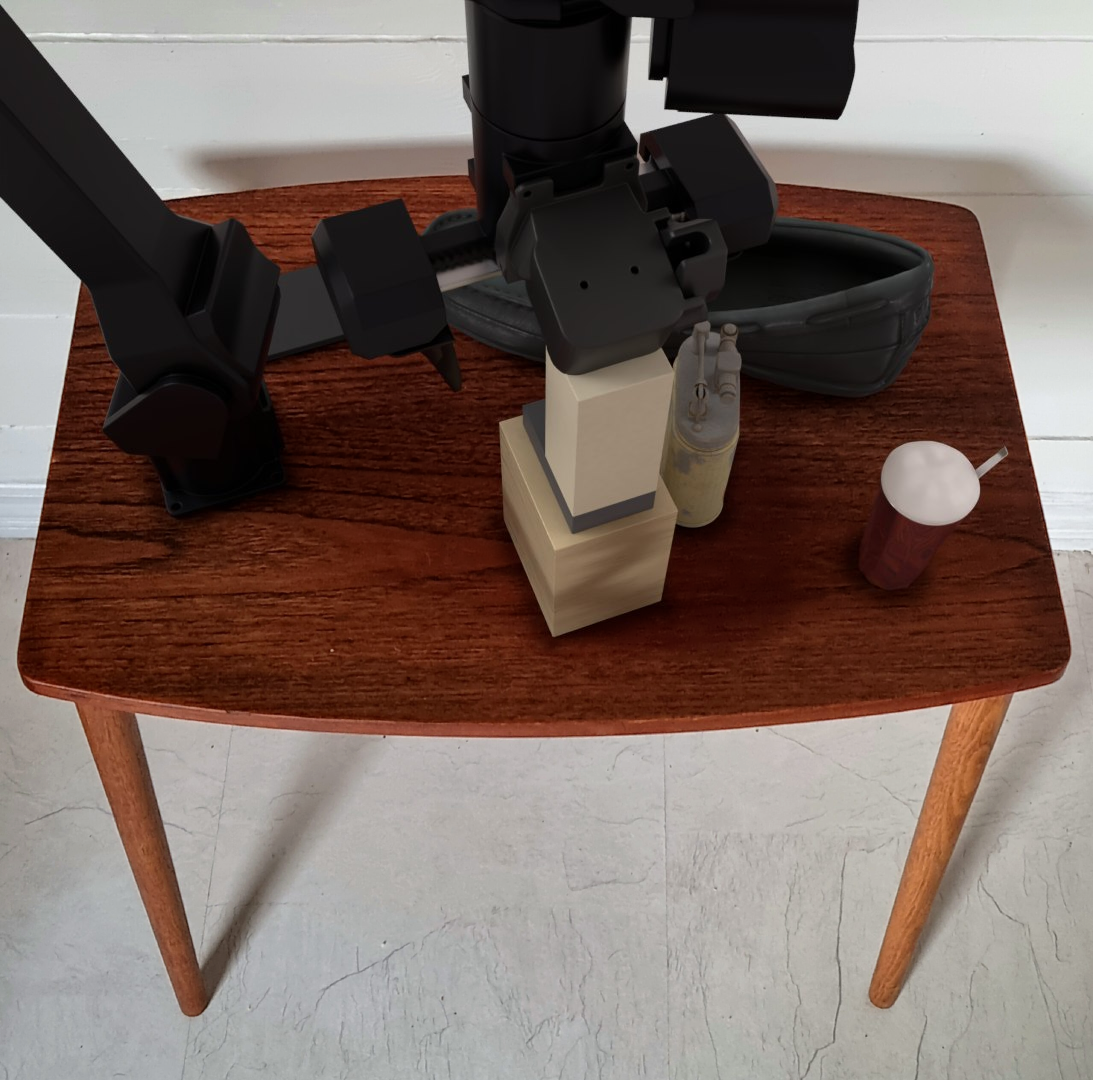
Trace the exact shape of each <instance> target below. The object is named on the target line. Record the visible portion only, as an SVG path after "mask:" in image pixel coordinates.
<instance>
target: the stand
mask: <svg viewBox="0 0 1093 1080" xmlns="http://www.w3.org/2000/svg"><path fill="white" fill-rule="evenodd" d="M498 424H499V442H500V443H499V444H500V445H499V446H500V464H501V467H500V468H501V485H502V487H501V489H502V506H503V521H504V522H505V526H506V528H507V530H508V533H509V535H510V537H511V540H512V542H513V545H514V547H515V550H516V552H517V555H518V556H519V559H520V562H521V564H522V566H523V570H524V571H525V574H526V576H527V578H528V581H529V583H530V585H531V588H532V590H533V593H534V594H535V598H536V600H537V602H538V605H539V607H540V610H541V612H542V614H543V616H544V619H545V621H546V624H547V627H548V629H549V631H550V633H551V636H552V637H553V638H555V637H559V636H561V635H564V634H567V633H570V632H573V631H576V630H580V629H582V628H584V627H587V626H590V625H593V624H597V623H599V622H602V621H605V620H607V619H608V620H609V619H611V618H614V617H617V616H620V615H623V614H626V613H629V612H632V611H634V610H638V609H641V608H644V607H646V606H647V607H648V606H650V605H653V604H655V603H659V602H661V601H662V597H663V592H664V588H665V587H664V586H665V582H666V575H667V570H668V564H669V560H670V555H671V549H672V544H673V540H674V539H673V538H674V533H675V529H676V525H677V524H676V518H677V513H678V510H677V508H676V506H675V504H674V502H673V500H672V498H671V496H670V494H669V492H668V490H667V488H666V486H665V484H664V482H663V480H662V478H661V476H660V474H659V475H658V482H657V488H656V494H655V500H654V507H653V508H652V509H649V510H646V511H643V512H639V513H636V514H633V515H630V516H627V517H624V518H621V519H618V520H615V521H612V522H608V523H605V524H602V525H599V526H596V527H593V528H590V529H587V530H584V531H581V532H577V533H574V534H572V533H571V531H570V529H569V526H568V524H567V522H566V520H565V518H564V515H563V513H562V511H561V509H560V506H559V504H558V502H557V500H556V497H555V495H554V493H553V491H552V488H551V486H550V484H549V482H548V479H547V477H546V475H545V473H544V470H543V468H542V466H541V464H540V461H539V459H538V457H537V455H536V453H535V450H534V448H533V446H532V444H531V441H530V439H529V437H528V435H527V432H526V430H525V428H524V426H523V414H522V415H519V416H515V417H512V418H508V419H504V420H501V421H499V422H498Z"/></svg>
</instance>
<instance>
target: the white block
mask: <svg viewBox="0 0 1093 1080" xmlns="http://www.w3.org/2000/svg"><path fill="white" fill-rule="evenodd" d="M673 379H674V371H673V366H672V365H671V363H670V361H669V359H668V358H667V357H666V356H665V354H664V352H663V350H662V348H660V349H659V350H657V351H656V352H654V353H651V354H648V355H645V356H642V357H638V358H634V359H631V360H627V361H624V362H621V363H618V364H614V365H611V366H608V367H604V368H601V369H598V370H596V371H592V372H589V373H586V374H582V375H568V374H563V373H562V372H560V371H559V370H558V369H557V368H556V367H555V366H554V365H553V363H552V361H551V359H550V357H549V354H548V351H547V347H546V363H545V398H543V399H539V400H536V401H533V402H529V403H526V404H523V405H522V415H523V426H524V428H525V430H526V432H527V435H528V437H529V439H530V441H531V444H532V446H533V448H534V450H535V453H536V455H537V457H538V459H539V461H540V464H541V466H542V468H543V470H544V473H545V475H546V477H547V479H548V482H549V484H550V486H551V488H552V491H553V493H554V495H555V497H556V500H557V502H558V504H559V506H560V509H561V511H562V513H563V515H564V518H565V520H566V522H567V524H568V526H569V529H570V531H571V533H572V534H574V533H577V532H581V531H584V530H587V529H590V528H593V527H596V526H599V525H602V524H605V523H608V522H612V521H615V520H618V519H621V518H624V517H627V516H630V515H633V514H636V513H639V512H643V511H646V510H649V509H652V508H653V507H654V500H655V494H656V488H657V482H658V475H659V469H660V462H661V456H662V450H663V443H664V437H665V430H666V424H667V418H668V411H669V405H670V398H671V392H672V386H673Z"/></svg>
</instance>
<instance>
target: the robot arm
mask: <svg viewBox="0 0 1093 1080" xmlns="http://www.w3.org/2000/svg"><path fill="white" fill-rule="evenodd" d="M463 1H464V12H465V13H464V17H465V31H466V33H465V34H466V48H467V50H466V51H467V63H468V65H467V66H468V73H467V74H464V75H461V84H462V86H461V87H462V98H463V100H464V103H465V105H466V106H467V108H468V110H469V112H470V117H471V129H472V130H471V132H472V147H473V157H471V158H468V159H466V161H467V173H468V174H467V175H468V180H469V182H470V184H471V186H472V188H473V190H474V193H475V196H476V197H475V199H476V209H477V214H478V220H475V221H472V222H468V223H464V224H461V225H457V226H454V227H450V228H446V229H443V230H439V231H435V232H432V233H428V234H425V235H421V234H420V235H421V236H420V235H419V233H418V231H417V228H416V227H415V223H414V222H413V219H412V217H411V215H410V213H409V210H408V208H407V206H406V204H405V201H404V199H403V197H400V198H396V199H393V200H388V201H385V202H381V203H377V204H374V205H369V206H366V207H363V208H358V209H355V210H351V211H347V212H344V213H340V214H337V215H333V216H329V217H325V218H321V219H319V220H318V222H317V224H316V225H315V228H314V230H313V232H312V234H311V235H310V240H311V245H312V248H313V249H312V250H313V253H314V258H315V262H316V265H317V266H318V268H319V271H320V274H321V276H322V279H323V281H324V284H325V287H326V289H327V292H328V294H329V297H330V300H331V302H332V305H333V307H334V310H335V313H336V315H337V318H338V320H339V323H340V326H341V328H342V331H343V333H344V336H345V341H346V344H347V346H348V349H349V351H350V354H351V355H354V356H356V357H359V358H361V359H364V360H367V361H371V360H374V359H378V358H382V357H385V356H388V357H390V358H394V359H400V358H404V357H408V356H411V355H415V354H418V353H420V354H421V355H423V356H424V357H425V358H426V359H427V360H428V361H429V362H430V363H431V365H432V366H433V367H434V369H435V370H436V371H437V372H438V374H439V375H440V377H441V378H442V380H443V381H444V382H445V383H446V384H447V386H448V387H449V389H450V390H451V391H452V393H454V394H455V393H458V392H462V391H463V375H462V371H461V368H460V364H459V360H458V357H457V354H456V350H455V346H454V342H455V343H456V338H455V336H454V333H453V331H452V329H451V326H450V325H449V324H448V322H447V320H446V310H445V304H444V301H443V297H442V294H441V292H444V291H448V290H451V289H455V288H458V287H462V286H465V285H469V284H472V283H476V282H479V281H483V280H486V279H490V278H493V277H497V276H500V275H503V276H504V278H505V280H506V282H507V284H510V283H513V282H517V281H520V280H525V286H526V290H527V294H528V296H529V299H530V302H531V304H532V307H533V310H534V313H535V315H536V318H537V321H538V323H539V326H540V329H541V332H542V334H543V337H544V340H545V343H546V347H547V351H548V354H549V357H550V359H551V361H552V363H553V365H554V366H555V367H556V368H557V369H558V370H559V371H560V372H562V373H563V374H568V375H582V374H586V373H589V372H592V371H596V370H598V369H601V368H604V367H608V366H611V365H614V364H618V363H621V362H624V361H627V360H631V359H634V358H638V357H642V356H645V355H648V354H651V353H654V352H656V351H657V350H659V349H660V348H661V347H662V346H663V344H664V343H665V341H666V340H667V338H668V336H669V335H670V333H671V332H672V331H675V330H679V329H682V328H685V327H689V326H692V325H695V324H698V323H702V322H705V321H707V320H708V309H707V306H706V302H709V301H712V300H715V299H716V298H717V296H718V295H719V293H720V292H721V290H722V288H723V286H724V282H725V273H726V263H727V261H730V260H734V259H736V258H738V257H739V256H740V255H741V253H742V252H743V250H746V249H749V248H753V247H756V246H760V245H763V244H766V243H767V242H768V240H769V238H770V236H771V233H772V231H773V228H774V223H775V219H776V216H777V214H778V210H779V206H780V201H779V196H778V191H777V186H776V181H774V179H773V178H772V176H771V175H770V173H769V172H768V170H767V168H766V167H765V165H764V164H763V162H762V161H761V159H760V158H759V156H758V155H757V153H756V152H755V150H754V149H753V147H752V146H751V144H750V143H749V142H748V140H747V139H746V137H745V134H743V132H742V131H741V129H740V127H739V126H738V125H737V124H736V122H735V121H734V120H733V119H732V118H731V117H729V116H730V115H732V116H748V117H749V116H751V117H770V118H788V119H789V118H790V119H808V120H826V121H827V120H828V121H838V120H839V119H840V118H841V117H842V115H843V114H844V111H845V109H846V107H847V103H848V101H849V98H850V95H851V92H852V87H853V85H854V79H855V75H856V55H855V41H856V34H857V33H856V32H857V25H858V15H859V7H860V0H463ZM633 18H640V19H642V18H643V19H650V30H649V32H650V34H649V45H648V46H649V47H648V62H647V63H648V64H647V65H648V66H647V80H648V81H656V82H657V81H658V82H663V81H664V79H665V87H664V99H663V111H665V110H666V111H676V112H677V113H691V114H692V113H693V114H707V115H703V116H700V117H697V118H692V119H689V120H685V121H681V122H677V123H673V124H670V125H667V126H662V127H659V128H655V129H652V130H648V131H644V132H642V133H640V134H639V141H637V139H636V137H635V136H634V134H633V133H632V131H631V129H630V127H629V126H628V124H627V122H626V108H627V107H626V105H627V92H628V80H629V69H630V68H629V65H630V52H631V39H632V27H633V26H632V25H633ZM728 115H729V116H728ZM638 154H639V156H640V158H641V159H642V161H643V163H641V162H640V158H639V157H638ZM0 199H1V200H2V201H3V202H4V203H5V204H6V205H7V207H9V208H10V209H11V210H12V212H14V213H15V215H17V216H18V217H19V219H21V220H22V221H23V223H24V224H25V225H26V226H27V227H28V228H29V229H30V230H31V231H32V232H33V233H34V234H35V235H36V236H37V237H38V238H39V239H40V240H41V241H42V242H43V243H44V244H45V245H46V246H47V247H48V249H49V250H50V251H52V252H53V253H54V254H55V256H56V257H58V259H60V261H61V262H62V263H63V264H64V265H65V266H66V267H67V268H68V269H69V270H70V271H71V272H72V273H73V274H74V275H75V276H76V277H77V278H78V279H79V280H80V281H81V282H82V284H83V285H84V286H85V288H86V289H87V291H88V293H89V295H90V299H91V302H92V305H93V308H94V312H95V315H96V318H97V321H98V324H99V328H100V331H101V334H102V337H103V340H104V344H105V347H106V351H107V354H108V357H109V358H110V360H111V361H112V363H113V364H114V365H115V366H116V367H117V369H118V370H119V374H118V377H117V380H116V383H115V384H116V385H115V387H114V389H113V393H112V396H111V400H110V403H109V406H108V409H107V413H106V416H105V419H104V423H103V426H102V429H101V432H102V434H103V435H104V436H105V437H106V438H108V439H109V440H110V441H111V442H112V443H113V444H114V445H115V446H116V447H118V448H119V449H120V450H121V452H123V453H125V454H127V455H130V456H131V455H132V456H146V457H147V458H148V459H149V461H150V463H151V465H152V467H153V469H154V471H155V474H156V475H157V478H158V480H159V484H160V488H161V492H162V496H163V500H164V503H165V507H166V510H167V513H168V514H169V516H170V517H171V518H172V519H176V520H177V519H182V518H186V517H188V516H192V515H195V514H198V513H201V512H205V511H208V510H212V509H215V508H219V507H222V506H224V505H229V504H232V503H235V502H238V501H241V500H244V499H248V498H252V497H254V496H255V497H256V496H258V495H261V494H264V493H268V492H271V491H275V490H278V489H281V488H284V486H286V485H287V482H288V477H287V474H286V471H285V467H284V465H283V461H282V458H281V455H280V453H282V452H284V451H285V449H286V447H287V444H286V442H285V438H284V436H283V432H282V430H281V426H280V423H279V420H278V416H277V413H276V410H275V407H274V404H273V401H272V398H271V395H270V392H269V389H268V386H267V382H266V380H265V376H264V375H265V374H264V373H265V370H266V364H267V362H268V361H267V357H268V352H269V348H270V344H271V340H272V335H273V331H274V327H275V322H276V318H277V314H278V310H279V305H280V298H281V293H280V287H279V285H278V279H279V275H281V271H282V267H281V266H279V265H278V264H277V263H275V262H274V261H272V260H271V259H269V258H268V257H267V256H266V255H265V254H264V253H263V252H262V251H261V250H260V249H259V248H258V247H257V246H256V244H255V242H254V241H253V239H252V237H251V235H250V233H249V231H248V229H247V227H246V226H245V224H244V223H243V222H242V221H240V220H239V219H238V218H235V217H230V218H228V219H225V220H223V221H220V222H218V223H216V224H212V223H209V222H206V221H202V220H198V219H195V218H191V217H189V216H185V215H181V214H178V213H176V212H174V211H173V210H172V209H171V208H169V206H168V205H167V204H166V203H165V202H164V200H163V199H162V198H161V197H160V195H158V193H157V192H156V191H155V189H154V188H153V187H152V185H150V183H149V182H148V181H147V180H146V179H145V177H143V175H142V174H141V173H140V171H139V170H138V168H136V167H135V165H134V164H133V163H132V161H130V159H129V158H128V156H126V154H125V153H124V152H123V151H122V150H121V149H120V147H119V146H118V144H117V143H116V142H115V141H114V140H113V139H112V137H111V136H110V135H109V134H108V133H107V132H106V130H105V129H104V128H103V126H101V124H100V123H99V122H98V120H97V119H96V118H95V117H94V115H93V114H92V113H91V112H90V111H89V110H88V108H87V107H86V106H85V105H84V104H83V102H82V101H81V100H80V99H79V97H78V96H77V95H76V94H75V93H74V91H73V90H72V89H71V87H70V86H69V85H68V84H67V83H66V82H65V81H64V80H63V78H62V77H61V76H60V75H59V73H58V72H57V71H56V70H55V68H54V67H53V66H52V64H51V63H49V61H48V60H47V59H46V58H45V57H44V55H43V54H42V53H41V51H40V50H39V49H38V48H37V46H36V45H35V44H34V43H33V42H32V40H31V39H30V37H28V36H27V34H26V33H25V32H24V31H23V30H22V29H21V27H20V26H19V25H18V24H17V23H16V21H15V20H14V19H13V18H12V17H11V16H10V14H9V13H8V12H7V11H6V9H5V7H4V6H3V5H2V4H0ZM266 361H267V362H266ZM276 478H279V479H277V480H275V479H276ZM178 507H179V509H176V508H178ZM175 509H176V510H175Z"/></svg>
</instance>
